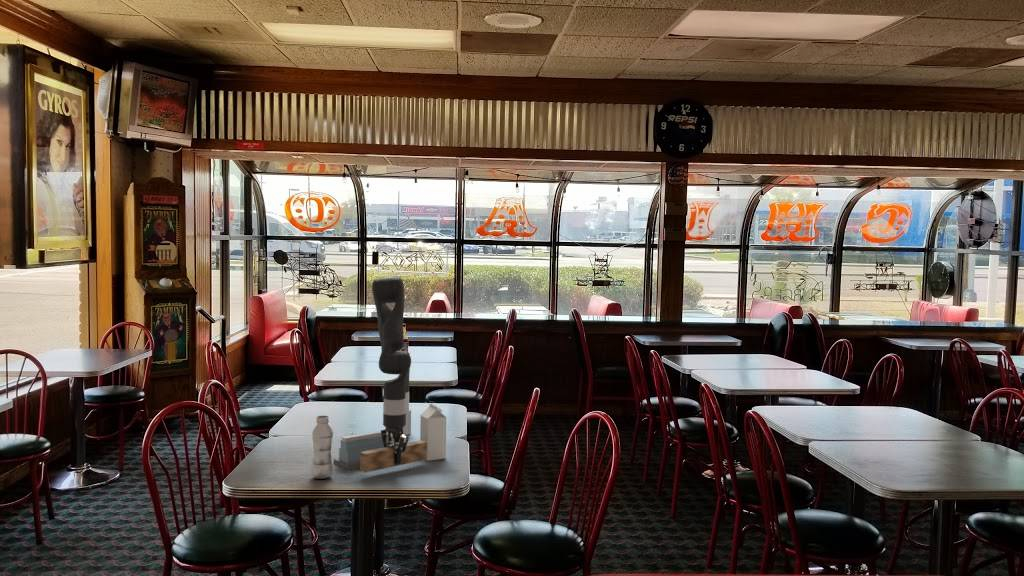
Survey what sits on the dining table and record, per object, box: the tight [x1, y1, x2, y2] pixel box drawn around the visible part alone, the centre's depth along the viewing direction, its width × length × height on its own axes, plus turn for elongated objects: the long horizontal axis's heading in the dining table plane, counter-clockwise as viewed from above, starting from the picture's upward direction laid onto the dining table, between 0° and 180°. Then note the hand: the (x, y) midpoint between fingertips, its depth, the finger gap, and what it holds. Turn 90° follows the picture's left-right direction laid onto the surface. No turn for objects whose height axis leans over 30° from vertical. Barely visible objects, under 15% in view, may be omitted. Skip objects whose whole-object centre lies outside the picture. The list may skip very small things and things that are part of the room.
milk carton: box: [419, 402, 447, 462], centre depth 277 cm, size 7×7×19 cm
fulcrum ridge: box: [333, 430, 399, 471], centre depth 272 cm, size 22×10×10 cm, turn 131°
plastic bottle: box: [311, 415, 334, 480], centre depth 251 cm, size 6×7×20 cm
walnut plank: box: [359, 440, 427, 473], centre depth 260 cm, size 24×3×6 cm, turn 131°
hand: (394, 462), depth 260 cm, fingers closed on walnut plank, 3 cm apart
